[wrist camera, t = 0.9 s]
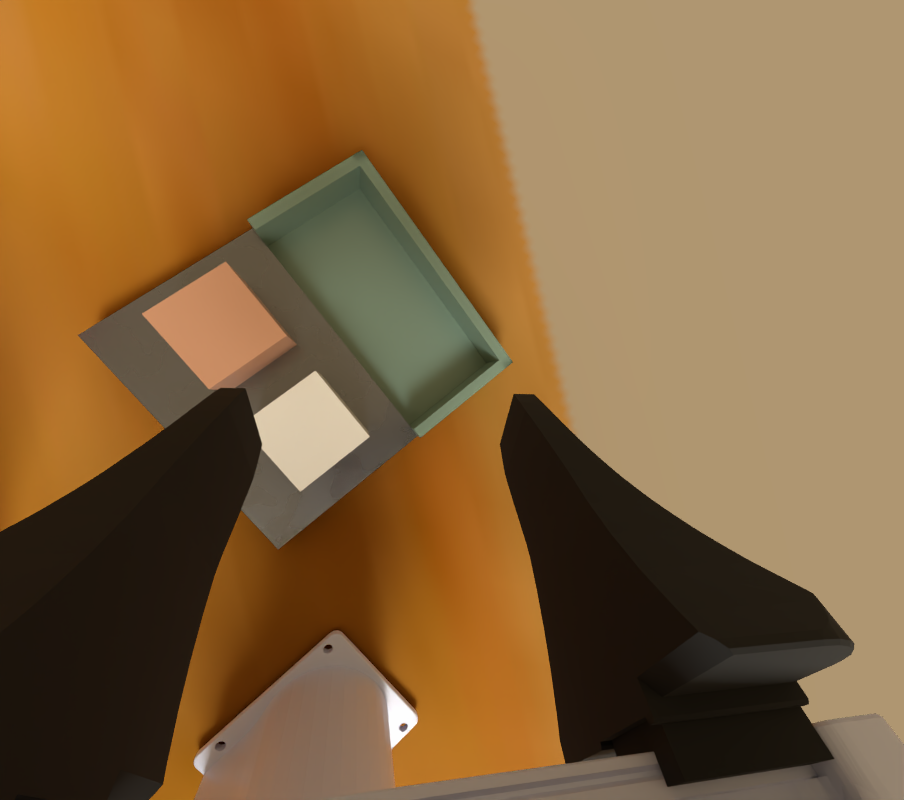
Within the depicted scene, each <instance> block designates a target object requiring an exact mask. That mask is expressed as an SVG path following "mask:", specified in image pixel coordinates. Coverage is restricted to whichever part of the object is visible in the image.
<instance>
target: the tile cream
mask: <svg viewBox="0 0 904 800" xmlns="http://www.w3.org/2000/svg"><path fill="white" fill-rule="evenodd" d="M254 418H255V421H256V425H257V428H258V431H259V435H260V438H261V441H262V447H261V448H262V450H263V451H264V452H265V453H266V454H267V455H268V456H269V457H270V458H271V460H272V461H273V462H274V463H275V464H276V465H277V466H278V467H279V469H280V470H281V471H282V472H283V473H284V474H285V475H286V476H287V478H288V479H289V480H290V481H291V482H292V483H293V484H294V485H295V487H296V488H297V489H298V490H299V491H300V492H301V491H302V490H303V489H304V488H306V487H307V486H308V485H309V484H311V483H312V482H313V481H315V480H316V479H317V478H318V477H320V476H321V475H322V474H323V473H325V472H326V471H327V470H328V469H330V468H331V467H332V466H333V465H335V464H336V463H337V462H339V461H340V460H341V459H342V458H344V457H345V456H346V455H347V454H349V453H350V452H351V451H352V450H354V449H355V448H356V447H357V446H359V445H360V444H361V443H363V442H364V441H365V440H366V439H368V438H369V437H370V436H369V433H368V430H367V429H366V428H365V427H364V426H363V424H362V423H361V422H360V421H359V419H358V418H357V417H356V416H355V415H354V413H353V412H352V411H351V410H350V409H349V407H348V406H347V405H346V404H345V402H344V401H343V400H342V399H341V398H340V396H339V395H338V394H337V393H336V391H335V390H334V389H333V388H332V387H331V385H330V384H329V383H328V382H327V380H326V379H325V378H324V377H323V376H322V374H320V373H318V372H317V371H314V372H313V373H311V374H310V375H309V376H307V377H306V378H305V379H303V380H302V381H300V382H299V383H298V384H296V385H295V386H293V387H292V388H291V389H289V390H288V391H287V392H285V393H284V394H282V395H281V396H280V397H278V398H277V399H276V400H274V401H273V402H271V403H270V404H269V405H267V406H266V407H264V408H263V409H262V410H260V411H259V412H258V413H256V414H255V415H254Z"/></svg>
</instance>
